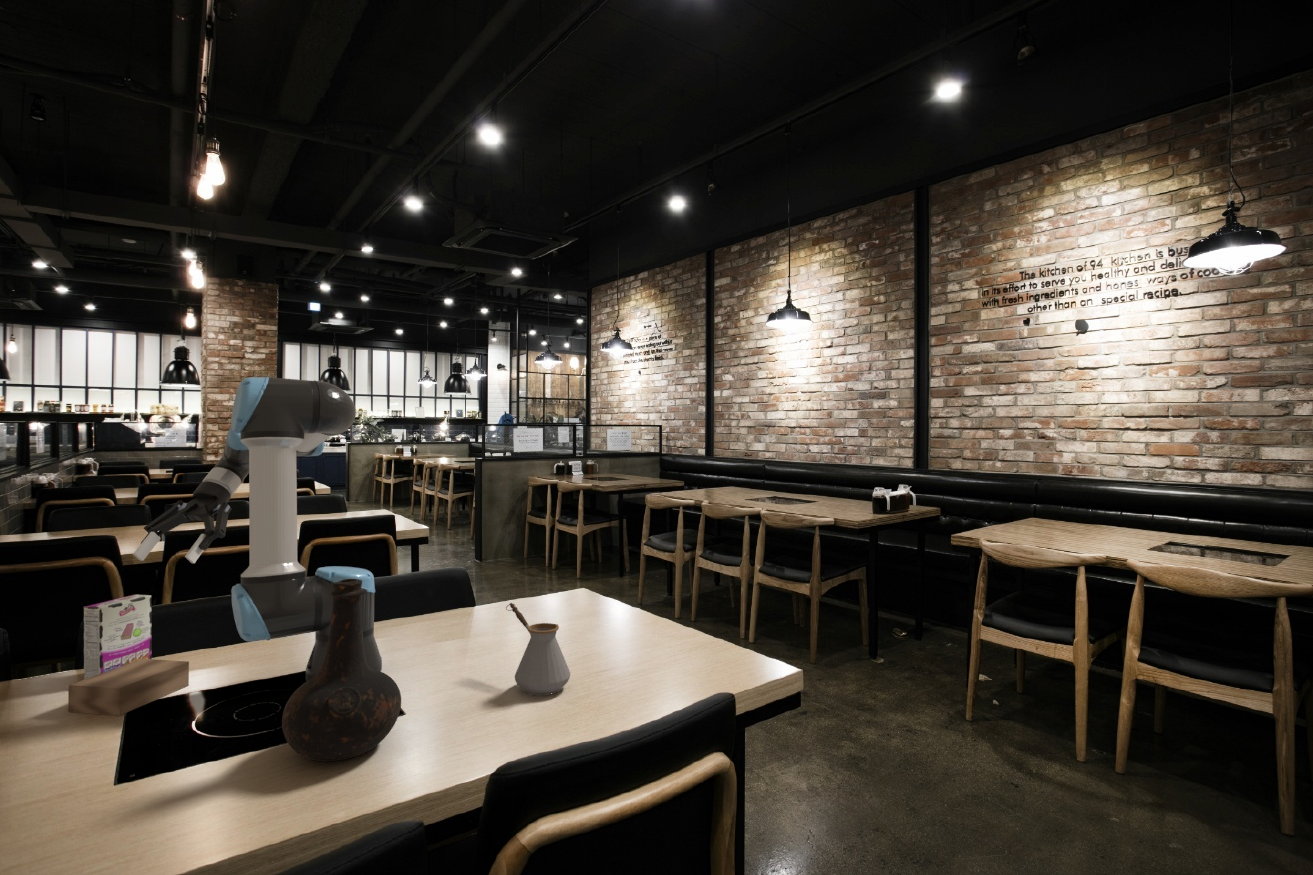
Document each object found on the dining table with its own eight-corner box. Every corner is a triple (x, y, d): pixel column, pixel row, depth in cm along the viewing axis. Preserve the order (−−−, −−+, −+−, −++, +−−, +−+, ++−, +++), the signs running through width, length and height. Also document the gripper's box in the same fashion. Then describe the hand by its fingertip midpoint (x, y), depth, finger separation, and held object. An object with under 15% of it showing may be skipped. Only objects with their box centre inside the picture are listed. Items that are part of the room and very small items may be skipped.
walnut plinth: (188, 685, 135) (188, 661, 135) (119, 715, 120) (120, 688, 120) (142, 682, 136) (142, 658, 136) (68, 711, 121) (68, 684, 121)
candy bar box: (134, 666, 146) (135, 593, 146) (152, 668, 145) (153, 594, 145) (80, 684, 135) (82, 605, 135) (100, 686, 134) (101, 607, 134)
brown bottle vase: (274, 785, 96) (276, 597, 96) (288, 735, 112) (291, 574, 113) (402, 763, 103) (405, 587, 103) (399, 718, 119) (401, 567, 120)
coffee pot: (580, 690, 134) (581, 618, 134) (530, 704, 127) (531, 627, 127) (531, 662, 150) (532, 598, 151) (485, 673, 143) (486, 605, 143)
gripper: (268, 500, 167) (220, 570, 152) (182, 497, 170) (127, 565, 155) (253, 481, 161) (202, 551, 147) (164, 478, 165) (105, 547, 150)
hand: (163, 558), depth 151 cm, fingers open, 13 cm apart
